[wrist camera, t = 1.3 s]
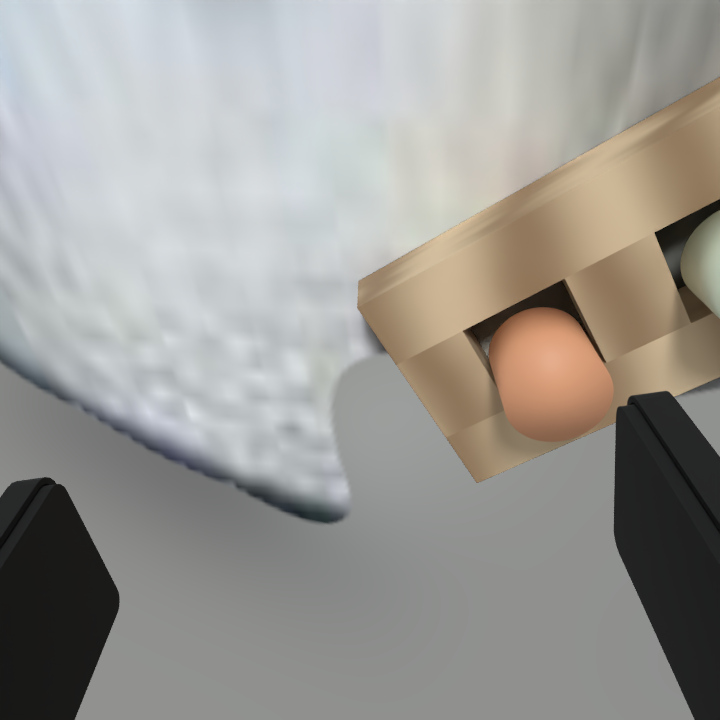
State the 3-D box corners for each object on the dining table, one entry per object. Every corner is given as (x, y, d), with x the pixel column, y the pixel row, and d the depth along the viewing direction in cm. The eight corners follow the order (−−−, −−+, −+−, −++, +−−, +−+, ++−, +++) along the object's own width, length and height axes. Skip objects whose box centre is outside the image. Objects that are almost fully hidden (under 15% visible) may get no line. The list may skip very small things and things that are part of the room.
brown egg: (562, 290, 28) (589, 332, 25) (600, 364, 30) (629, 413, 27) (472, 336, 30) (485, 383, 26) (513, 404, 31) (530, 457, 28)
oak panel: (1062, -117, 24) (1148, -129, 21) (1080, 169, 29) (1152, 187, 26) (358, 281, 32) (357, 307, 29) (469, 447, 37) (476, 483, 34)
